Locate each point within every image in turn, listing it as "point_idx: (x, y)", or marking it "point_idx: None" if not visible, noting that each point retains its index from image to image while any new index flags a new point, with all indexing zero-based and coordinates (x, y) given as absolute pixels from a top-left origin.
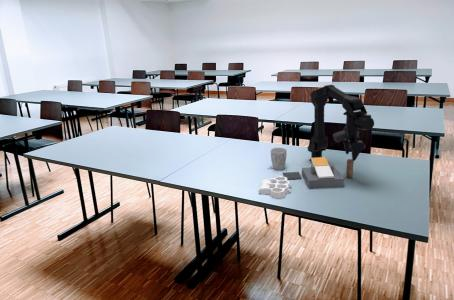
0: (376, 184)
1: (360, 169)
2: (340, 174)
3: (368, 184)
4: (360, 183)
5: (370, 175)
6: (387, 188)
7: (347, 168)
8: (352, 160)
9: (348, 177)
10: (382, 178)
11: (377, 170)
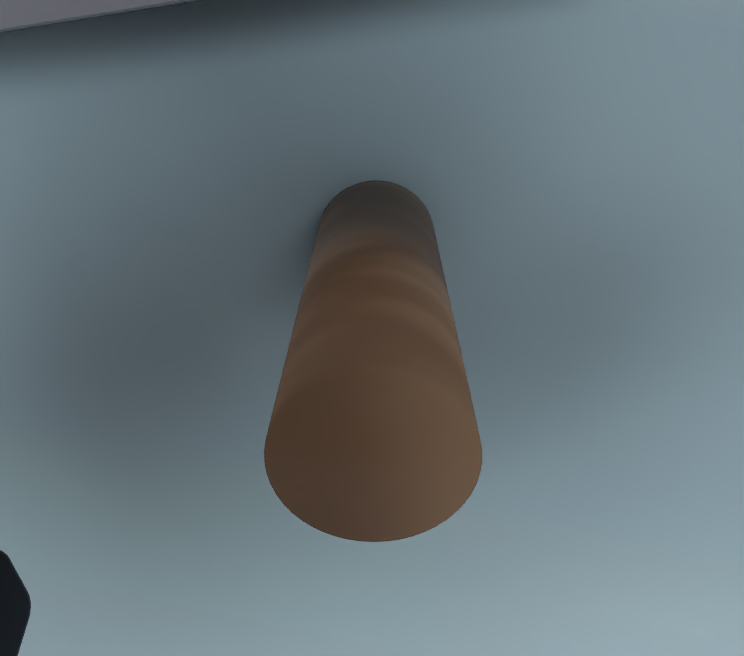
0: (135, 536)
1: (710, 468)
2: (31, 19)
3: (115, 452)
4: (132, 359)
5: (452, 537)
6: (34, 609)
7: (333, 267)
8: (348, 511)
9: (322, 220)
10: (345, 629)
11: (621, 638)
